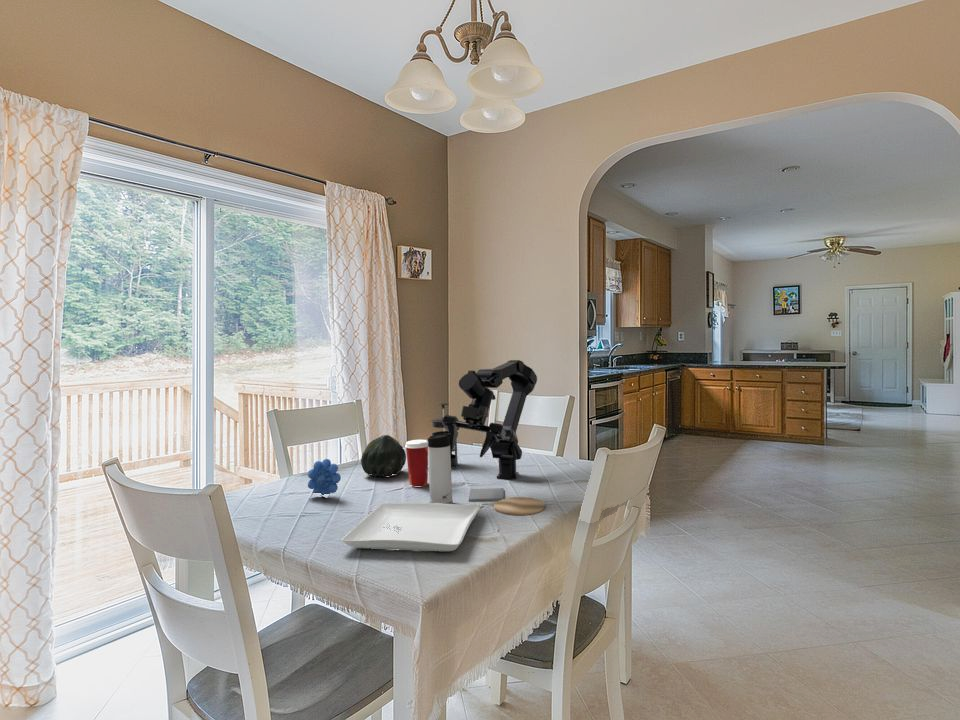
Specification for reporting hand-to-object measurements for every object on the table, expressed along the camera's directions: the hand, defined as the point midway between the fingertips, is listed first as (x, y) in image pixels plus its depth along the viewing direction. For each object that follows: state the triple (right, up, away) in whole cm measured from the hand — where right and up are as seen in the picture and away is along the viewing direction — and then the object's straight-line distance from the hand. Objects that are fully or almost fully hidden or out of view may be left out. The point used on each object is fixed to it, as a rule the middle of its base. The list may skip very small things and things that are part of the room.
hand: (465, 454), depth 154 cm
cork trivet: (+15, -13, -9) cm, 22 cm away
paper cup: (-15, -13, +16) cm, 26 cm away
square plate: (-11, -15, -26) cm, 32 cm away
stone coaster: (+6, -13, +2) cm, 14 cm away
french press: (-9, -12, +39) cm, 42 cm away
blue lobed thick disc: (-42, -14, +6) cm, 45 cm away
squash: (-29, -13, +30) cm, 44 cm away
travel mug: (-7, -14, -4) cm, 16 cm away
